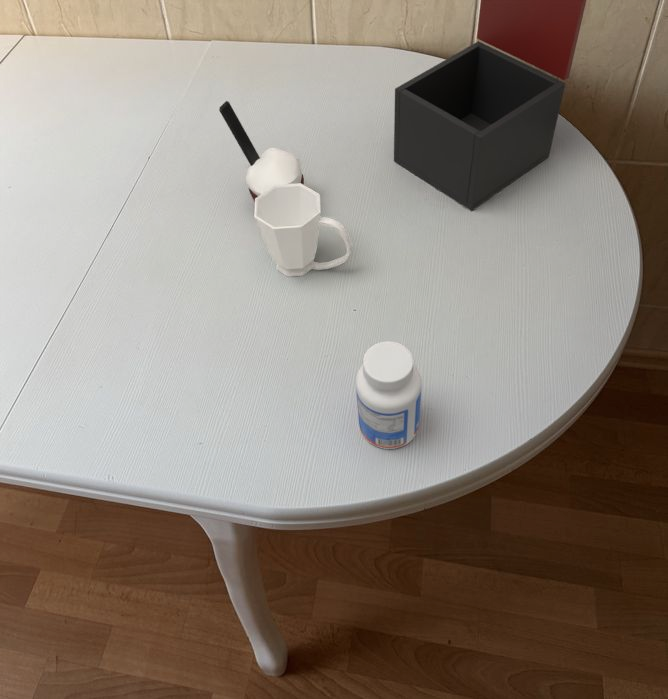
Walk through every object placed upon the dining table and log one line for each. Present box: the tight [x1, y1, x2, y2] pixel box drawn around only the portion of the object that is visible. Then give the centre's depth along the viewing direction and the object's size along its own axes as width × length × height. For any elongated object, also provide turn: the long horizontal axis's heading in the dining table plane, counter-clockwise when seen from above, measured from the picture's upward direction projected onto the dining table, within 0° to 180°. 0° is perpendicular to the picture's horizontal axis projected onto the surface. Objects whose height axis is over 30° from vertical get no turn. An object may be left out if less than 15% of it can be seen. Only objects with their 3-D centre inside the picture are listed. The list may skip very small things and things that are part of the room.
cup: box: [253, 183, 353, 278], centre depth 72 cm, size 7×10×8 cm
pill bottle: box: [355, 340, 422, 450], centre depth 59 cm, size 6×5×10 cm
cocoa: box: [218, 100, 305, 202], centre depth 77 cm, size 10×6×12 cm, turn 38°
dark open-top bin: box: [393, 40, 566, 212], centre depth 81 cm, size 14×13×10 cm
